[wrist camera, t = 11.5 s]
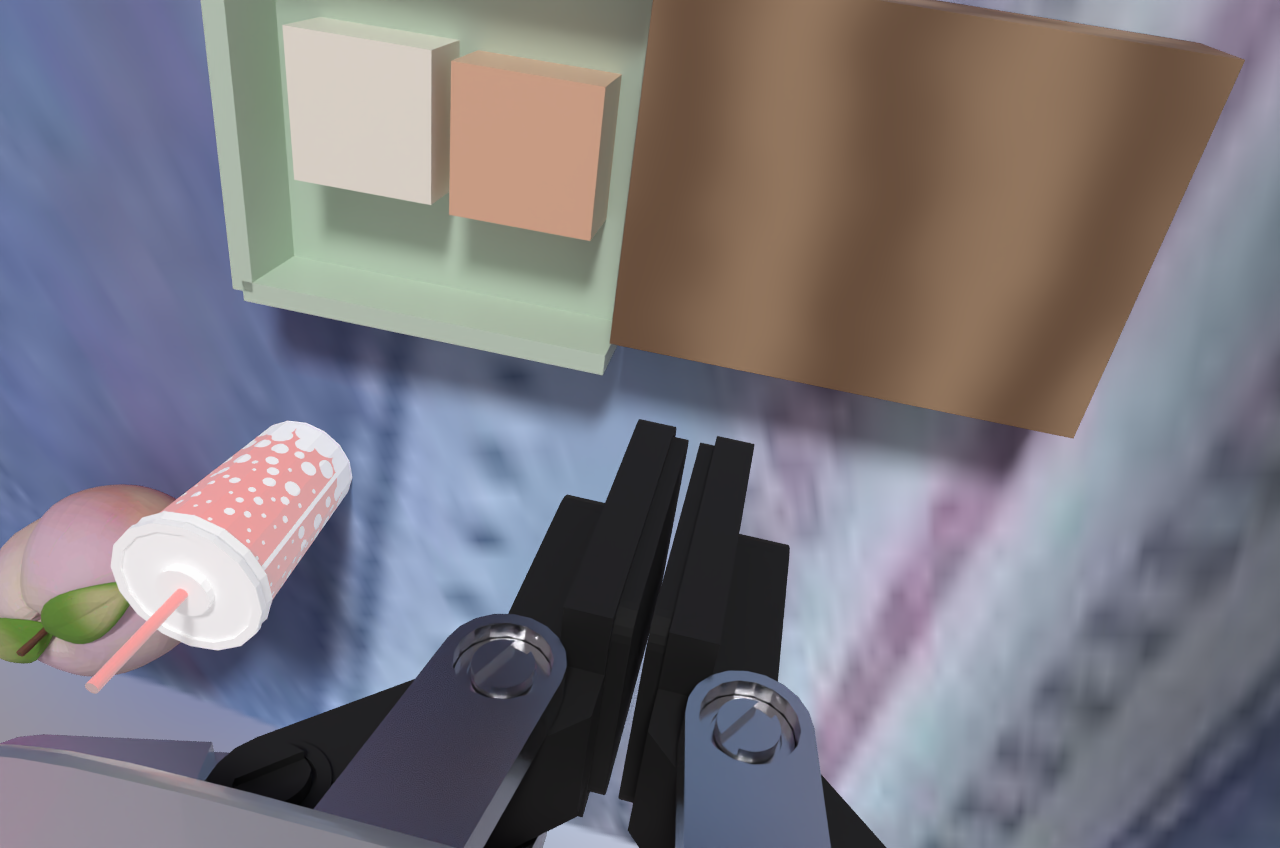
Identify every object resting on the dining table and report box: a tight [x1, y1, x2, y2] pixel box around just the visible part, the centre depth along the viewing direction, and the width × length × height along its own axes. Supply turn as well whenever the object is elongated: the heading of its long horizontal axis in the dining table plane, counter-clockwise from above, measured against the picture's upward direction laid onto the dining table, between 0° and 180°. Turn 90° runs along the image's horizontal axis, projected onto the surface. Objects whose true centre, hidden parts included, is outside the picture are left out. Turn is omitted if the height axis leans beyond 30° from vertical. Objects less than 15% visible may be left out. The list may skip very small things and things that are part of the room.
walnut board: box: [609, 0, 1245, 438], centre depth 29 cm, size 16×12×4 cm
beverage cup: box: [85, 421, 352, 693], centre depth 36 cm, size 6×6×14 cm
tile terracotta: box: [449, 50, 622, 241], centre depth 30 cm, size 5×5×2 cm
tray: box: [201, 0, 653, 375], centre depth 31 cm, size 14×15×4 cm
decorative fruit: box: [0, 485, 180, 676], centre depth 40 cm, size 9×8×10 cm
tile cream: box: [282, 17, 460, 205], centre depth 31 cm, size 5×5×2 cm
